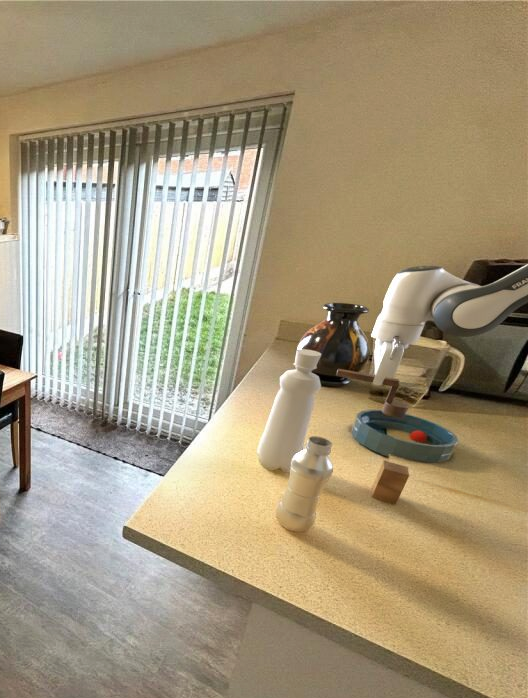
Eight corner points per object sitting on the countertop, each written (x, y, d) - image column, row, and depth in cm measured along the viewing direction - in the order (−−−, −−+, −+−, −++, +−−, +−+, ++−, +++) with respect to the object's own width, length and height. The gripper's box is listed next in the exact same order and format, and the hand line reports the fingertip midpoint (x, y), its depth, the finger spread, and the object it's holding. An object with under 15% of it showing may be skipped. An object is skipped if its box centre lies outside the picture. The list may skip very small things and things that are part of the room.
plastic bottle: (319, 532, 78) (352, 447, 70) (293, 540, 76) (323, 453, 68) (290, 511, 83) (317, 429, 75) (265, 517, 82) (290, 435, 74)
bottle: (257, 471, 96) (289, 356, 84) (252, 451, 104) (280, 344, 92) (300, 479, 93) (340, 361, 81) (291, 458, 101) (326, 348, 89)
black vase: (363, 395, 134) (393, 315, 123) (289, 383, 145) (310, 308, 134) (354, 375, 151) (380, 303, 140) (288, 365, 162) (307, 298, 151)
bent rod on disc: (404, 412, 104) (417, 381, 100) (405, 419, 101) (419, 386, 97) (328, 396, 114) (338, 367, 110) (327, 402, 111) (337, 371, 107)
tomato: (423, 441, 106) (428, 431, 105) (424, 446, 104) (429, 436, 103) (407, 437, 108) (412, 427, 107) (408, 442, 106) (413, 432, 105)
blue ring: (442, 442, 107) (451, 423, 105) (453, 476, 93) (464, 455, 91) (351, 421, 118) (357, 403, 116) (348, 449, 105) (356, 429, 102)
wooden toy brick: (394, 495, 88) (407, 466, 84) (395, 504, 85) (409, 475, 82) (371, 488, 90) (383, 460, 87) (371, 497, 87) (384, 468, 84)
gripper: (416, 344, 89) (394, 399, 95) (409, 325, 104) (390, 374, 109) (380, 339, 93) (360, 392, 99) (378, 322, 107) (361, 369, 113)
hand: (376, 382), depth 104 cm, fingers closed on bent rod on disc
